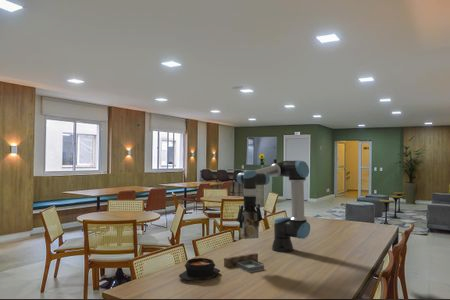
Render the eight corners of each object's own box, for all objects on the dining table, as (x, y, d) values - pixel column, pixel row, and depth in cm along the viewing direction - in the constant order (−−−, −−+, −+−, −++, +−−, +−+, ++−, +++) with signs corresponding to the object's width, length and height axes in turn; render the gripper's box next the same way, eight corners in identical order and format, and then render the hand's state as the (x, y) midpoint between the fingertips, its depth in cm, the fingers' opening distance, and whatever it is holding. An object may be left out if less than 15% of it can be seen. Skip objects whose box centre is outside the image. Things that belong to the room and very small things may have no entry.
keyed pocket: (250, 263, 218) (250, 259, 218) (263, 269, 206) (263, 265, 206) (235, 266, 212) (235, 262, 212) (248, 272, 200) (248, 268, 201)
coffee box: (254, 236, 214) (255, 209, 215) (258, 238, 208) (258, 211, 208) (240, 236, 211) (240, 210, 212) (244, 239, 205) (244, 211, 206)
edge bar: (256, 260, 224) (256, 253, 224) (257, 261, 222) (257, 253, 222) (224, 266, 211) (224, 258, 212) (225, 267, 210) (225, 259, 210)
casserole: (205, 268, 208) (205, 254, 209) (227, 275, 195) (227, 260, 196) (171, 278, 191) (171, 262, 191) (193, 286, 177) (193, 270, 178)
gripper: (260, 194, 220) (260, 229, 219) (230, 195, 208) (230, 233, 207) (268, 195, 213) (268, 232, 212) (237, 197, 201) (237, 235, 201)
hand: (249, 232), depth 210 cm, fingers closed on coffee box, 10 cm apart
